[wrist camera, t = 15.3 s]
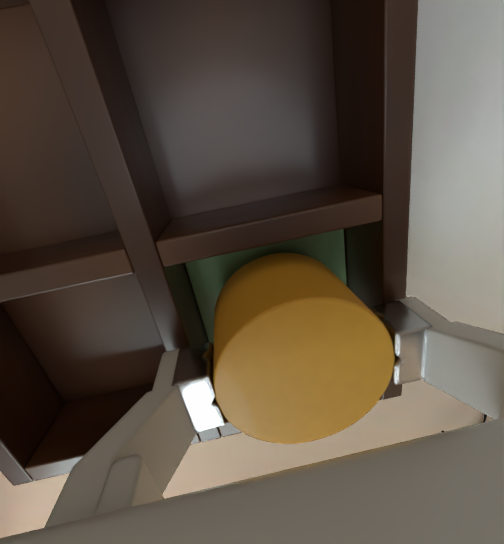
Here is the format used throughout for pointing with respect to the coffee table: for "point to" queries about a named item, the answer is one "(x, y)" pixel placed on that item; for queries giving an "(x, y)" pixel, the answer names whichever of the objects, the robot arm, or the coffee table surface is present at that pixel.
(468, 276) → the coffee table surface
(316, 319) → the cylinder
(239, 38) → the grid
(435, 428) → the coffee table surface
